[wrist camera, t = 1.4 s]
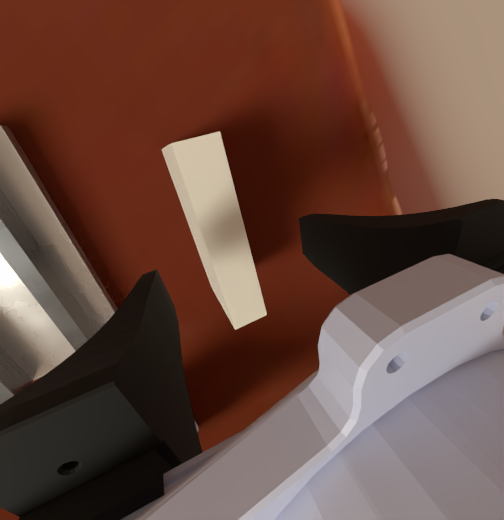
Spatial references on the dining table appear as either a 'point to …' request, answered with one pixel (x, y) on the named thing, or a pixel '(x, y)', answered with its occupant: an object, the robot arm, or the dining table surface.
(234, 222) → the door panel
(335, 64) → the dining table surface
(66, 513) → the robot arm
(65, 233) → the bottom track
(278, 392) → the dining table surface
